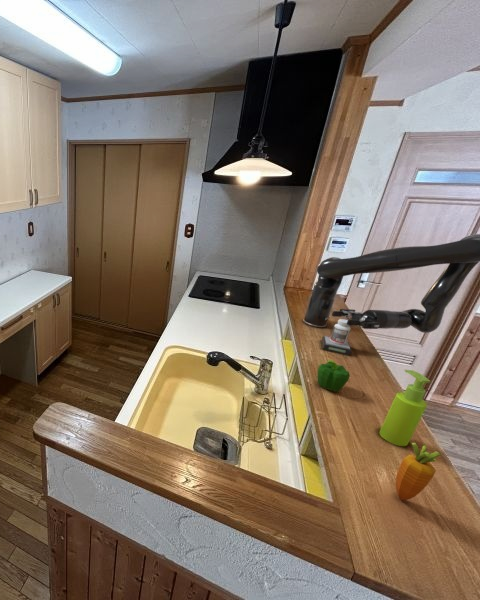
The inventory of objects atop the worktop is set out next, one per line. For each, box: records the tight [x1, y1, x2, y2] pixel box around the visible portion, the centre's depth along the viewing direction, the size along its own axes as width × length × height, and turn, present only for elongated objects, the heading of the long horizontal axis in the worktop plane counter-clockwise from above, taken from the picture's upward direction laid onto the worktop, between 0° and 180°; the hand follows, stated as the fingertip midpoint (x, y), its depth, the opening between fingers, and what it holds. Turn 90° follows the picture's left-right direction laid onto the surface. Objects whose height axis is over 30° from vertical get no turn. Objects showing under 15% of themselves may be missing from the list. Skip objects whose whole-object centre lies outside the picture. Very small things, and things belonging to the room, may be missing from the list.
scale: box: [320, 335, 352, 357], centre depth 136 cm, size 9×9×3 cm
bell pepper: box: [316, 359, 350, 392], centre depth 109 cm, size 8×8×10 cm
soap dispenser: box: [379, 369, 431, 447], centre depth 86 cm, size 6×7×20 cm
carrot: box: [395, 442, 441, 501], centre depth 69 cm, size 5×5×15 cm
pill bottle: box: [330, 318, 352, 345], centre depth 134 cm, size 5×5×10 cm
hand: (340, 317), depth 132 cm, fingers open, 8 cm apart
